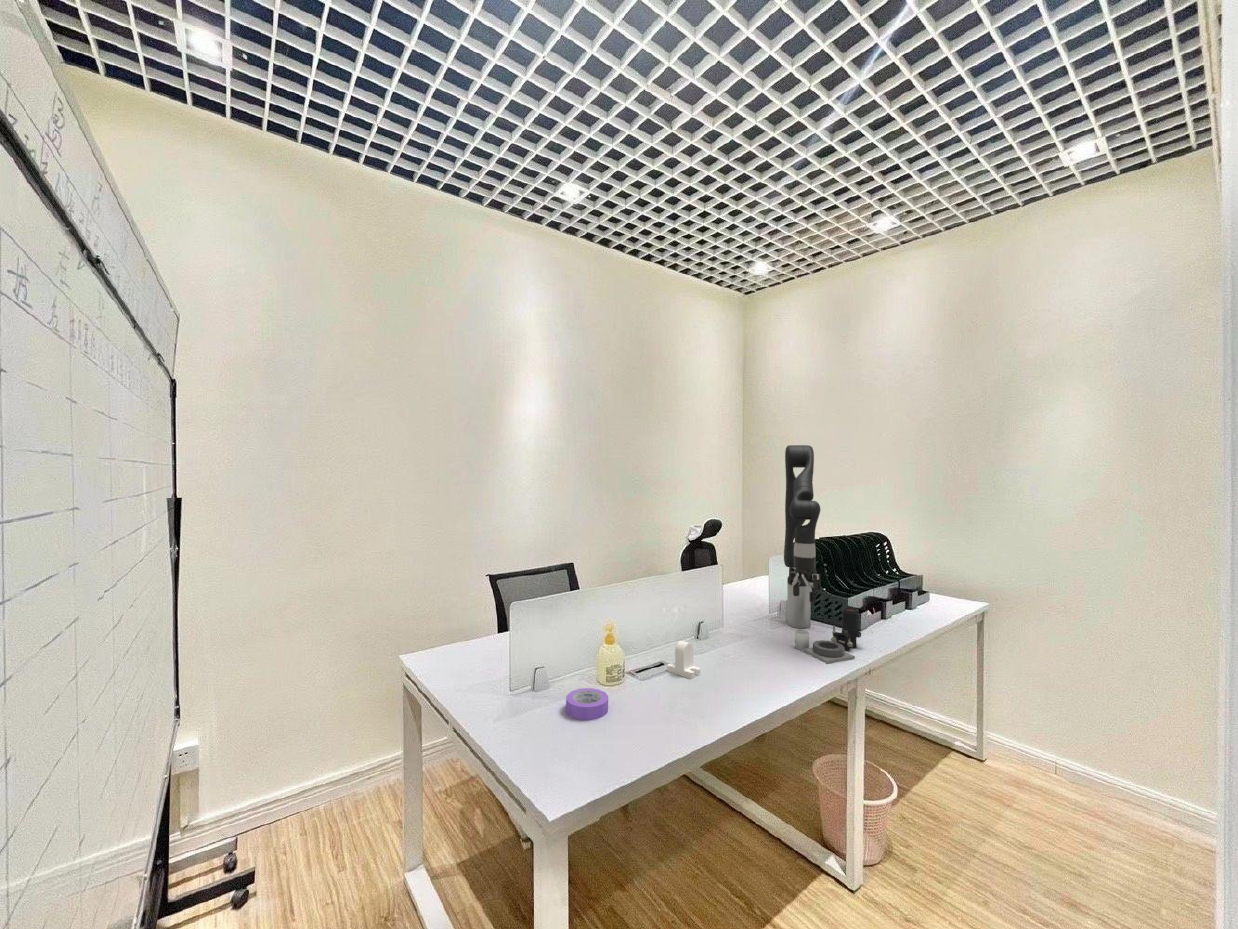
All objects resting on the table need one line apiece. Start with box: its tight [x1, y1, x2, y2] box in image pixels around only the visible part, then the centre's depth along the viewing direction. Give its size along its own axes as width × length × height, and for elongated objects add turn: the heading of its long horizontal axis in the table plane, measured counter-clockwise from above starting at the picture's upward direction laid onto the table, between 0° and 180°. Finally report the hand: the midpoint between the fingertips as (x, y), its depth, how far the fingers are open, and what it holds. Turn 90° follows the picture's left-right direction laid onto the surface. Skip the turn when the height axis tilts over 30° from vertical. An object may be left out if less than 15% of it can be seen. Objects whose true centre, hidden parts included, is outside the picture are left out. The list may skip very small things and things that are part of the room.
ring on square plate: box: [802, 639, 856, 665], centre depth 185 cm, size 12×12×4 cm
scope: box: [830, 606, 862, 652], centre depth 193 cm, size 8×14×10 cm
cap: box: [794, 628, 810, 651], centre depth 192 cm, size 5×5×6 cm
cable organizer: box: [667, 640, 701, 680], centre depth 170 cm, size 5×10×10 cm, turn 47°
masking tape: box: [565, 687, 609, 721], centre depth 145 cm, size 12×12×4 cm
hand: (804, 598), depth 192 cm, fingers open, 8 cm apart
